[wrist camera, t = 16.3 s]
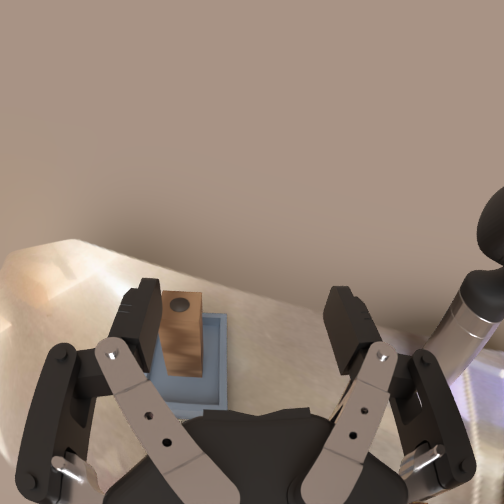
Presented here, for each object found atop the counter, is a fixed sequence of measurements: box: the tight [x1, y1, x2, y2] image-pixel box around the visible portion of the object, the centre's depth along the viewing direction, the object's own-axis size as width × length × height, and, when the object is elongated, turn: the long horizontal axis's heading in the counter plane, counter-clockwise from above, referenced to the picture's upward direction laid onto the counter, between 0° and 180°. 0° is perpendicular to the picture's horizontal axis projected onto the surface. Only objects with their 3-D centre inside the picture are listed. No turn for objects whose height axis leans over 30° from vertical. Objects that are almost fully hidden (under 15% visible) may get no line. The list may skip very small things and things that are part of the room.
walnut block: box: [158, 291, 204, 378], centre depth 36 cm, size 5×5×12 cm
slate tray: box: [144, 313, 227, 419], centre depth 39 cm, size 12×18×3 cm, turn 4°
